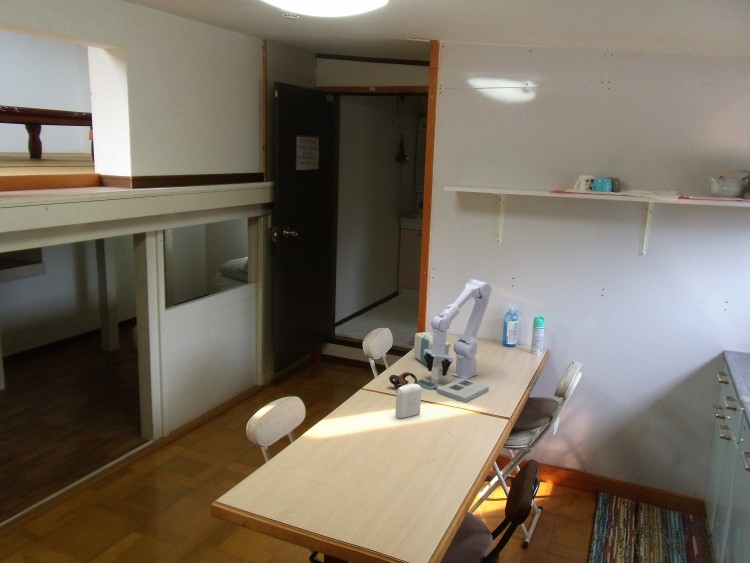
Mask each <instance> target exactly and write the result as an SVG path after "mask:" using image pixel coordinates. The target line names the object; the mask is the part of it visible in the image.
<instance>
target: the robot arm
mask: <svg viewBox="0 0 750 563" xmlns="http://www.w3.org/2000/svg"><path fill="white" fill-rule="evenodd" d="M464 285H465V286H464V289H463V290H462V292H461V293H460V294H459V296H458V297H457V299H455V301H454V302H453V303H449V304H447V305H446V306H445V308H444V309H443V310H442V311H441V313H439V315H435V316H434V317H433V318H432V320H431V322H430V326H431V328H432V334H433V344H432V350H429V349H425V350H424V354H426V355H425V356H424V359H425V361H426V363H427V365H426V366H427V371H428V372H432V367H433V361H434V357H438V358H441V359H444V360H443V361H441V363H442V376H443V377H445V376H447V373H448V370H449V369H450V366H451V365H452V363H453V361H454V356H452V355H450V354H449V353H448V354H446V353H445V347H446V341H447V331H448V330H449V329H450V327H451V324H452V321H453V320H454V319H455V318H456V317H457V316H458V315H459V313H460V309H461V308H462V307H463V306H464V305H465V304H466V303H467V302H468V301H470V299H471V298H473V299H474V301H475V302H474V304H473V306H472V307H473V308H472V311H471V313H470V316H469V319H468V320H467V324H466V327H465V329H464V332H463V334H462V335H459V336H458V337H457V340H456V341H455V343H454V345H453V351H454V353H455V356H456V360H455V361H456V362H455V372H453V373H451V376H453V377H454V376H455V377H457V378H459V379H460V378H463V379H466V380H469V379H470V378H472V377H475V376H476V375H478V373H477V372H476V370H477V369H476V368H477V359H476V355H477V353H478V352H477V351H478V346H479V343H478V341H477V339H476V338H477V335H478V331H479V329H480V326H481V323H482V321H483V317H484V315H485V312H486V309H487V306H488V304H489V300H490V296H491V293H492V291H493V290H492V287H491V284H490V283H489V282H486V281H485V282H484V281H481V280H478V279H475V278H470V280H468V282H467V283H466V284H464Z"/></svg>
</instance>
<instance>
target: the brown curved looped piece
mask: <svg viewBox="0 0 750 563" xmlns="http://www.w3.org/2000/svg"><path fill="white" fill-rule="evenodd" d="M409 376H410V377H411V379H414V382H413V383H412V384H417V381H418V379H417V376H416V375H415V374H414V373H412V372H409V371H404V372H402V373H401V374H399V375H396V374H391V375H390V376H389V378H388V380H389V382H390V383H391V384H392V385H393V387H394V388H396V387H397V386H399V385H401V387H402V386H404V385H407V384H409V380H407V379H406V378H407V377H409Z"/></svg>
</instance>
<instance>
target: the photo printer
mask: <svg viewBox="0 0 750 563" xmlns="http://www.w3.org/2000/svg"><path fill="white" fill-rule="evenodd" d="M395 395H396V396H395V397H396V399H395V417H396V418H398V419H404V418H409V417H413V416H417V415H420V413H421V401H422V387H420V385H418V384H413V383H408V384H407V385H404V386H402V385H401V386H400V387H397V390H396V394H395Z"/></svg>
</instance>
